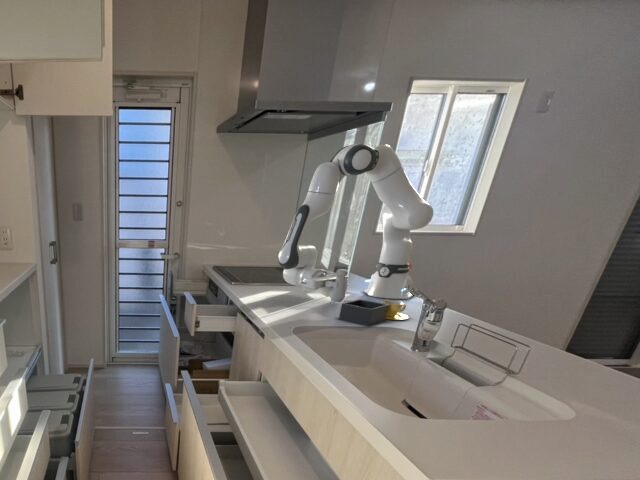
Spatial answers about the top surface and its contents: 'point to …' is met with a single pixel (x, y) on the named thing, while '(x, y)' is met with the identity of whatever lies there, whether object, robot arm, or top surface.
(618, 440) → the top surface
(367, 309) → the dark grey open box
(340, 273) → the salt shaker
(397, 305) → the cup
